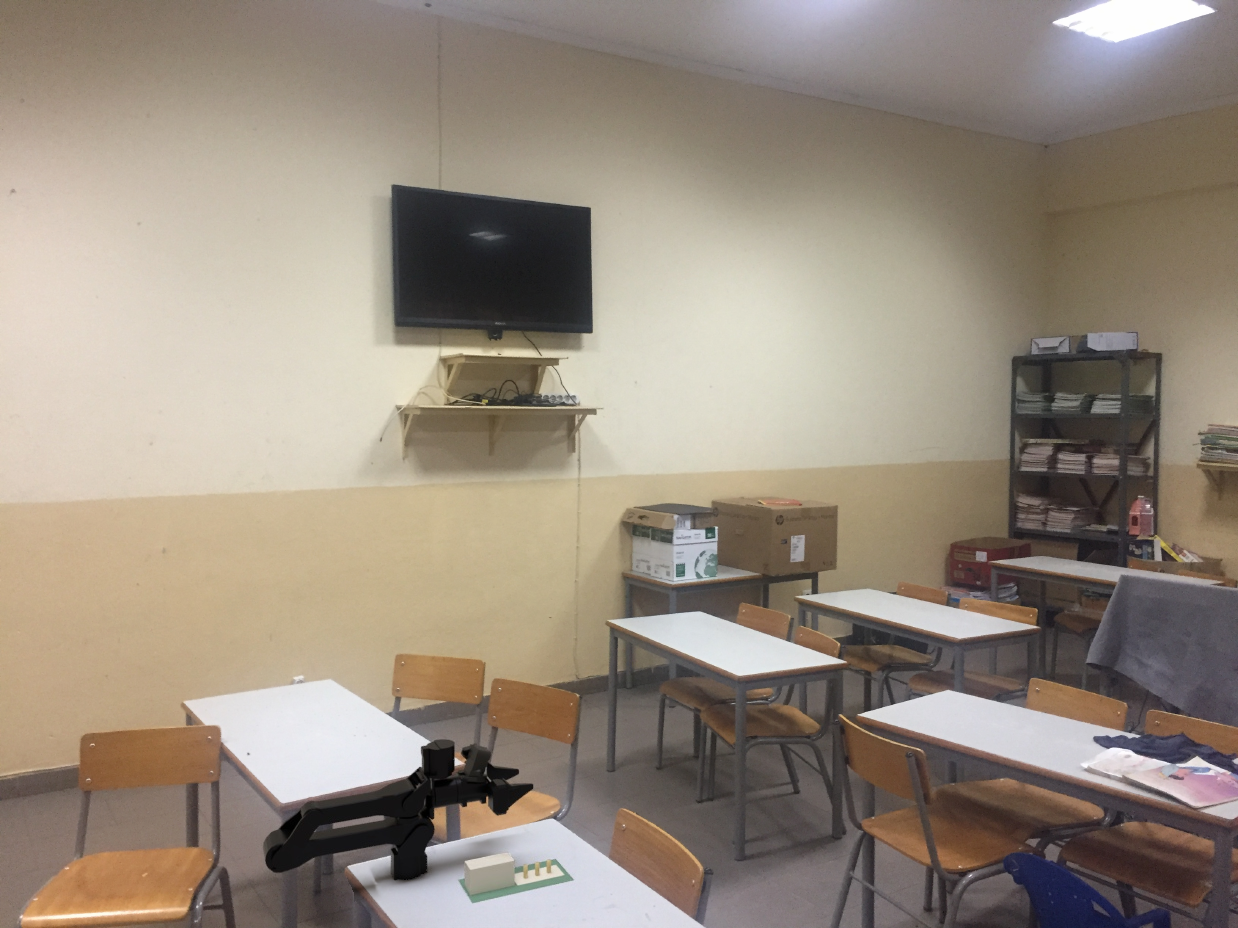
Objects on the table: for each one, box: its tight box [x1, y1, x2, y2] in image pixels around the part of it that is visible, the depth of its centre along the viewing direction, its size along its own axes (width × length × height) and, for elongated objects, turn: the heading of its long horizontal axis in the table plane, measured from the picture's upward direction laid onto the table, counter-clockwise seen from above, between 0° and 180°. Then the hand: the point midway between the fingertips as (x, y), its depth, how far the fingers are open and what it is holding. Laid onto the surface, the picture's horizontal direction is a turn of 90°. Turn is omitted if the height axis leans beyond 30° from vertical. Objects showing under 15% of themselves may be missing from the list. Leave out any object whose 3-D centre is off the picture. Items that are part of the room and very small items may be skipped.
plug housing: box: [464, 852, 516, 895], centre depth 182 cm, size 9×4×5 cm, turn 115°
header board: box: [457, 858, 575, 904], centre depth 185 cm, size 21×10×4 cm, turn 115°
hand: (525, 778), depth 198 cm, fingers open, 9 cm apart
